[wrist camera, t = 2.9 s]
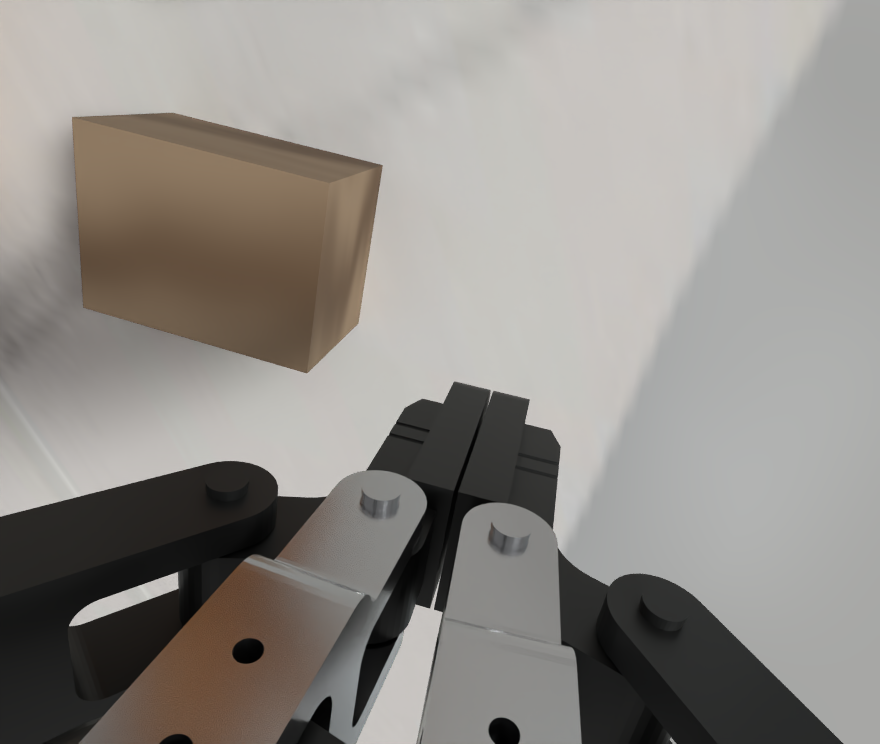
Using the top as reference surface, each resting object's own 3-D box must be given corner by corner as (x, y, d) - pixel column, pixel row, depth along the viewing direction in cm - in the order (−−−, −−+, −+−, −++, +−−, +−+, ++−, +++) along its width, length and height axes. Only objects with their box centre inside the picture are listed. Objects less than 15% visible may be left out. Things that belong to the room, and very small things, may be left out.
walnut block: (175, 112, 22) (71, 117, 18) (383, 164, 22) (329, 183, 17) (173, 269, 25) (83, 307, 21) (359, 322, 24) (306, 373, 20)
